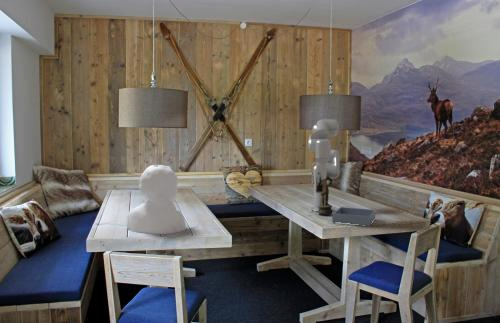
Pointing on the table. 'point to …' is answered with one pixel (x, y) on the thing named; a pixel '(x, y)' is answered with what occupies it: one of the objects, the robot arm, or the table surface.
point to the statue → (325, 208)
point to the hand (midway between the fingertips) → (320, 190)
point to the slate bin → (354, 216)
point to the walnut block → (323, 186)
